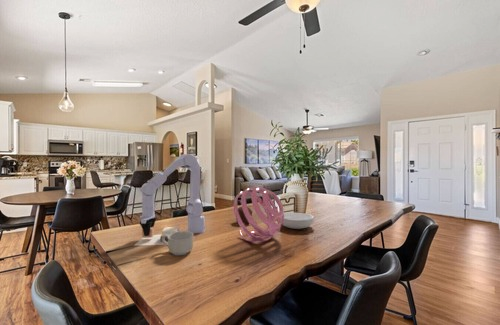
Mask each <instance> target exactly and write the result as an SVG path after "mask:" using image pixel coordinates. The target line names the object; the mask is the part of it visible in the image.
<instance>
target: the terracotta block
mask: <svg viewBox="0 0 500 325" xmlns="http://www.w3.org/2000/svg"><path fill="white" fill-rule="evenodd" d="M141 229H142V228H141ZM155 231H156V230H155V226H154V227H151V228H150V234H149V236H144V232H143V229H142V230H141V233H142V236H141V237H142V238H151V237H153V236H154V235H156V234H155ZM142 238H141V239H142Z"/></svg>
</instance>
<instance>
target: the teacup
mask: <svg viewBox="0 0 500 325" xmlns="http://www.w3.org/2000/svg"><path fill="white" fill-rule="evenodd" d="M165 237H167V238H168V243H167V242H166V241H165ZM162 242H163V243H164V244H165V245H164V246H166V247H167V248H168V251H169V252H170V253H172V255H174V256H179V257H180V256H185V255H187V254H188V253H189V252H190V251H191V250H193V246H194V233H191V232H188V231H187V230H181V231H180V230H179V232H174V233H172V234H170V235H164V236H163V237H162Z"/></svg>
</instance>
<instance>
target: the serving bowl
mask: <svg viewBox="0 0 500 325" xmlns="http://www.w3.org/2000/svg"><path fill="white" fill-rule="evenodd" d="M280 219H281V221H282V217H281V218H280ZM313 222H314V216H313V214H308V213H305V212H304V213H302V212H284V221H283V224H282V226H284V227H286V228H290V229H292V230H293V229H294V230H301V229H302V230H303V229H306V228H309V227H310V226H311V225H312V224H313Z"/></svg>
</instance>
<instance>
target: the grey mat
mask: <svg viewBox="0 0 500 325" xmlns="http://www.w3.org/2000/svg"><path fill="white" fill-rule="evenodd" d="M161 236H162V233H160V234H155V235H154V236H153V237H151V238H140V240H138V241H137V242H136V243H135V244H134V245H133V247H135V246H136V247H137V246H166V245H165V244H164V243H163V242H160V237H161ZM167 243H168V242H167Z"/></svg>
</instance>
